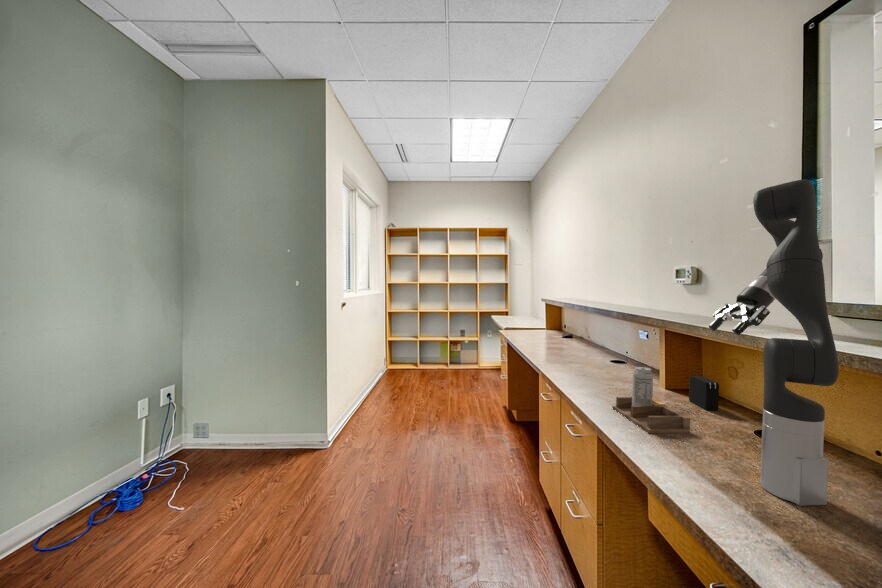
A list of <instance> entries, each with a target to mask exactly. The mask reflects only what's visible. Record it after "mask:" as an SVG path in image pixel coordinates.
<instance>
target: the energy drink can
mask: <svg viewBox="0 0 882 588" xmlns="http://www.w3.org/2000/svg"><path fill="white" fill-rule="evenodd" d="M631 385H632V392H631V393H632V394H631V395H632V396H631V397H632V406H652V399H653V398H654V397H653V392H654V388H653V387H654V374H653V371H652V368H649V367H645V366H635V367H634V370H633V371H632V384H631Z"/></svg>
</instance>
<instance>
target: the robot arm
mask: <svg viewBox="0 0 882 588" xmlns="http://www.w3.org/2000/svg"><path fill="white" fill-rule="evenodd" d="M752 203H753V211H754V214H755V217H756V218H757V220H758V222H759V224H761V225H762V227H763V228H764V229H765V230H766V231H767V232H768V233H769V235H771V237H772V238H773V240H774V243H775V246H776V249H775V250H773V252H772V254H770V256H769V258H768V260H767V262H766V268H765V269H764V270H763V271H762V272H761V273H760V274H759V275H758V276H757V277H756V278H755V279H753V280H752V281H751V282H750V283H749V284H748V285H747V286H745V288H744V289H743V290H742V291H741V292H740V293H739V294H738V295H737V296H736V302H734V303H733V304H732V305H730V304H728V303H727V302H726V303H723V304H722V305H721V306H720V307H719V308H718V309H717V310H715V312H713V313H712V315H711V316H712V317H713V318H714V320H712V322H711V323H709V325H708V328H709V329H710V330H711V331H713V332H715V331H717V330H718V329H719V328H720V327H721V326H722V325H723V323H725V322H728V321H733V320H735V319H736V320H738V319H739V320H741V321H739V322H738V323H737V324H736V325H735V326H734V327H733V328H732V329H731V330H732V332H733V333H734V334H735V335H736V336H740V335H741V334H743V333H744V331H745V330H746V329H748V328H751V327H752V326H754V327H759V326H760V325H761V324H762V323H763V321H764V320H765V319H767V317H768V316H769V315H770V314H771V311H770V310H769V309H768V307H769V306H770V305H771V304H772V303H773V302H774V301H775V300H777V302H778V303H780V304H781V305H782V306H783V307H784V308H785V309H786V310H787V311H788V312H790V314H791V315H792V316H793V317H794V318H795V319H796V320H797V321H798V323H799V324H800V326H801V327H802V329H803V331H804V334H805V335H806V338H807V339H799V338H798V339H796V338H793V339H792V338H781V337H771V338H769V339H767V340H766V341H765V343H764V345H763V352H762V355H763V356H762V357H763V358H762V362H763V403H762V404H763V405H762V406H763V407H762V425H761V427H762V428H761V429H762V431H761V454H760V456H761V457H760V459H761V460H760V486H761V487H762V488H763V489H764V490H765V491H767V492H768V493H770V494H771V495H774V496H775V497H778V498H780V499H782V500H785V501H789V502H791V503H793V504H795V505H797V506H799V507H800V506H802V507H805V506H827V504H828V487H829V485H828V484H829V483H828V482H829V462H830V460H829V459H828V458H826V457H824V439H825V438H824V433H825V420H826V419H825V417H826V416H825V415H826V411H825V407H824V406H823V405H822V404H820V403H819V402H817V401H815V400H813V399H810V398H807V397H805V396H803V395H800V394H798V393H796V392H794V391H791V390H790V389H789V388H787V387H786V383H795V384H803V385H811V386H819V387H820V386H821V387H831V386H833V385H834V384H836V382H837V381H838V379H839V373H840V369H839V366H840V365H839V358H838V353H837V348H836V344H835V340H834V336H833V332H832V331H833V330H832V327H831V323H830V318H829V314H828V305H827V298H826V297H827V296H826V283H825V282H826V280H825V273H824V272H825V271H824V265H823V258H824V255H823V254H824V253H823V251H822V249H821V248H820V243H819V238H818V237H819V236H818V221H817V220H818V219H817V195H816V191H815V186H814V184H813V183H812V182H811V181H810V180H808V179H798V180H792V181H789V182H788V181H787V182H785V183H780V184H776V185H773V186H772V185H771V186H767V187H764V188H761V189H759V190H758V191H756V192H755V193H754V196H753V202H752ZM792 219H795V221H794V220H792Z"/></svg>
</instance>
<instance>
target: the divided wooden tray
mask: <svg viewBox="0 0 882 588" xmlns="http://www.w3.org/2000/svg"><path fill="white" fill-rule="evenodd" d="M615 399H616V401H615V405H612V408H613V409H614V410H613V409H612V408H611V409H612V410H613V411H615V410H616V411H617V412H616V411H615V412H616V413H618V412H619V413H620V414H619V413H618V414H619V415H621V414H622V415H623V416H622V415H621V416H622V417H624V416H625V417H626V418H625V417H624V418H625V419H627V420H628V419H629V420H628V421H630V422H631V421H632V422H631V423H633V424H634V423H635V424H634V425H636V426H637V425H638V426H637V427H639V428H640V427H641V428H642V429H641V428H640V429H641V430H643V431H644V430H645V431H644V432H646V433H647V432H648V434H665V433H666V434H670V433H671V434H672V433H673V434H674V433H675V434H676V433H683V434H684V433H690V432H691V417H690V416H687V415H686V414H684V413H682V412H680V411H678V410H676V409H673V408H672V407H670V406H668V405H666V403H664V402H661V401H660V400H657V399H655V397H653V399H652V406H632V396H616V398H615Z"/></svg>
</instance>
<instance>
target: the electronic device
mask: <svg viewBox="0 0 882 588" xmlns="http://www.w3.org/2000/svg"><path fill="white" fill-rule="evenodd" d="M688 382H689V387H688V392H689V393H688V396H689V397H688V401H689V402H690V403H691V404H693V405H695V406H697V407H699V408H700V409H703V410H704V411H718V410H719V402H720V401H719V398H720V384H719V382H717V381H714V380H712V379H710V378H707V377H705V376H703V375H702V376H701V375H700V376H699V375H698V376H697V375H696V376H695V375H690V376H689V381H688Z"/></svg>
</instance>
